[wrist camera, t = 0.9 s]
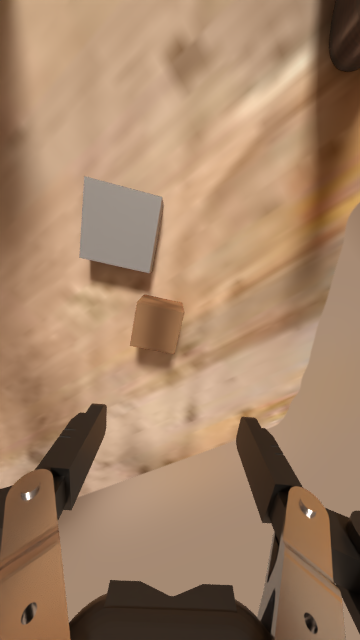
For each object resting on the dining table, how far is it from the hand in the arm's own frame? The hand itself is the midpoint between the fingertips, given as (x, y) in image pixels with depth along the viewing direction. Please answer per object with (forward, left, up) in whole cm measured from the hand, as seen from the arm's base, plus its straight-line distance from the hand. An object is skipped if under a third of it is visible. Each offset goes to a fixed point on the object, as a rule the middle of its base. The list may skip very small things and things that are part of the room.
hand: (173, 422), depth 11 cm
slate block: (-9, +11, -20) cm, 25 cm away
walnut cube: (-2, 0, -20) cm, 20 cm away
